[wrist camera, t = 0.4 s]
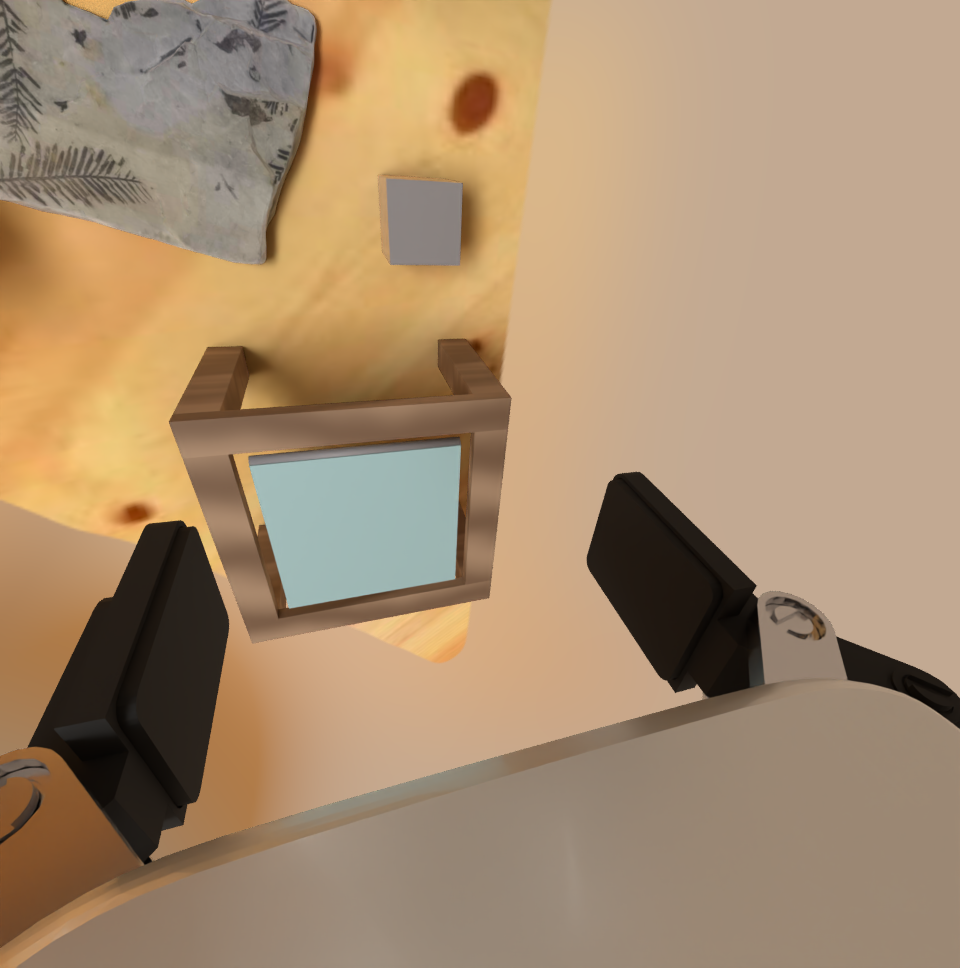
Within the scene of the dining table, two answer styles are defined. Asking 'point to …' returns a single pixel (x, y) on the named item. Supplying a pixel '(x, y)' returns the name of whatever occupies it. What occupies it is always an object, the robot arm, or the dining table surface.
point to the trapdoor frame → (228, 430)
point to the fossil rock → (156, 115)
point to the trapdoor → (360, 517)
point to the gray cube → (420, 220)
